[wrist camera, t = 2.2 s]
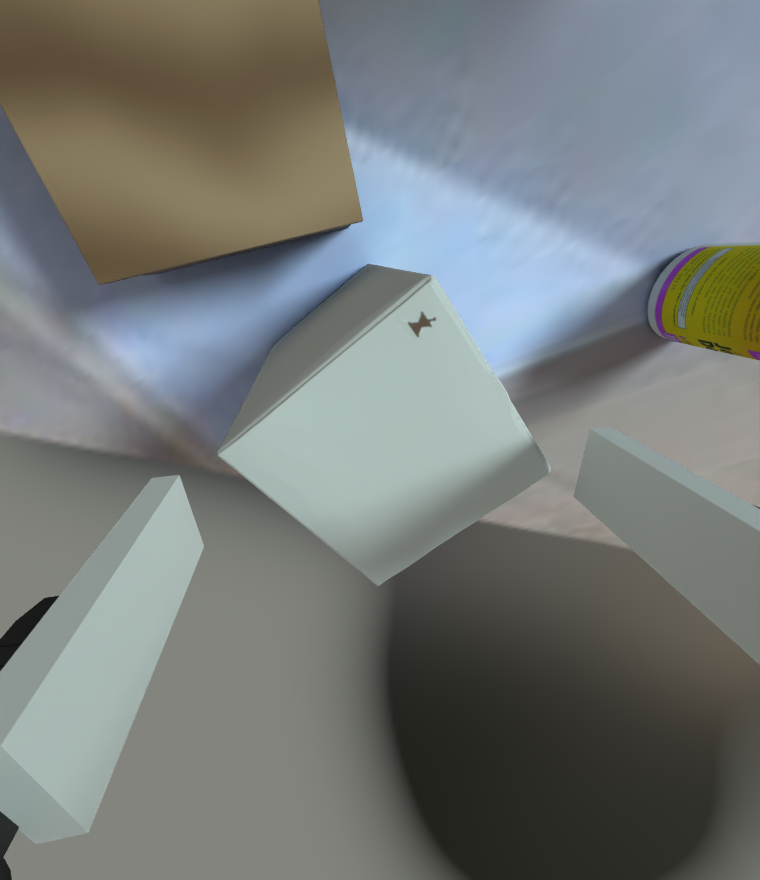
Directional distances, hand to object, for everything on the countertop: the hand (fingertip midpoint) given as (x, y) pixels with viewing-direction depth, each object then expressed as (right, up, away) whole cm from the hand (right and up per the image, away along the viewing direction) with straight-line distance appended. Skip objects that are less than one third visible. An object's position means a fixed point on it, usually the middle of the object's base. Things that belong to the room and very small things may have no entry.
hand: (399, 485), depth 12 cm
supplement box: (-2, +7, +14) cm, 16 cm away
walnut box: (-10, +18, +7) cm, 22 cm away
